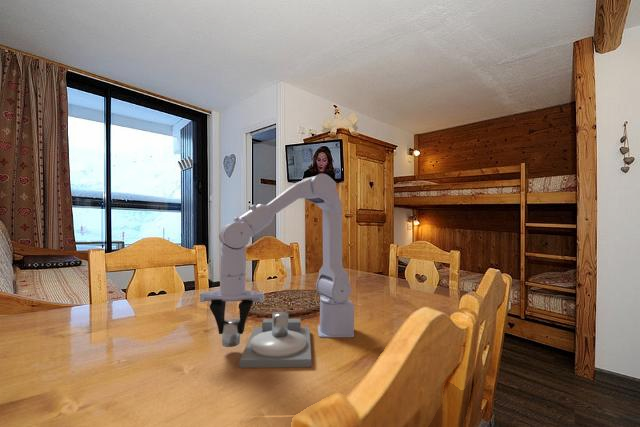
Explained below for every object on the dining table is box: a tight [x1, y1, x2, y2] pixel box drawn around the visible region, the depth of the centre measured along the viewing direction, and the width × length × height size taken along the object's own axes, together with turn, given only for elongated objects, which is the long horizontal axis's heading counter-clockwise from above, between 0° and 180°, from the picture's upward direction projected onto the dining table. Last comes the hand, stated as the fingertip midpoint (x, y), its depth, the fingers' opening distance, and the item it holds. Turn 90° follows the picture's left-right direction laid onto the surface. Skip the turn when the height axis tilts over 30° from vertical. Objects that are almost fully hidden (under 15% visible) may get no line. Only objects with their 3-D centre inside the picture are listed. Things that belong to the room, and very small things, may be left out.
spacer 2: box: [271, 311, 289, 337], centre depth 72 cm, size 4×4×5 cm
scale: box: [238, 318, 312, 369], centre depth 71 cm, size 15×19×4 cm
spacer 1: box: [221, 318, 241, 348], centre depth 68 cm, size 4×4×5 cm
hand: (231, 332), depth 68 cm, fingers closed on spacer 1, 4 cm apart
